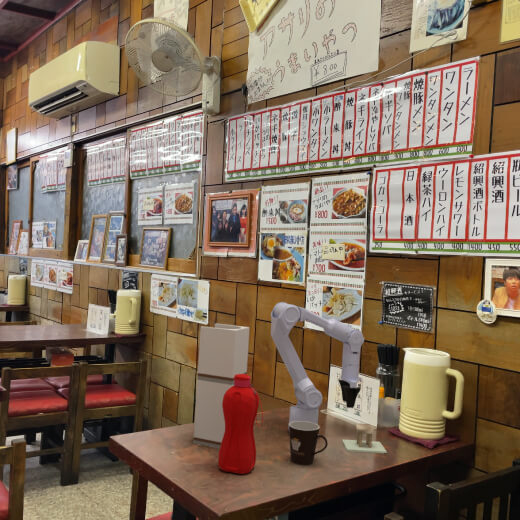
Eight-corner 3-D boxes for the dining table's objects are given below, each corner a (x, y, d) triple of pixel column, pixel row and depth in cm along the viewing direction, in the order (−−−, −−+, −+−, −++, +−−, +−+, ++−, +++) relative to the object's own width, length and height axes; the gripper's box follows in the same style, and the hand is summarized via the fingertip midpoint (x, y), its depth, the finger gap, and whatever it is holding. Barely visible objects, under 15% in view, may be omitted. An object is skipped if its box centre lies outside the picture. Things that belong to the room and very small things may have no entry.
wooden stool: (357, 447, 165) (358, 428, 165) (353, 442, 170) (354, 423, 171) (374, 448, 166) (375, 429, 166) (370, 443, 171) (371, 424, 171)
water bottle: (254, 478, 139) (260, 380, 139) (214, 471, 141) (220, 375, 142) (264, 466, 147) (269, 374, 148) (226, 459, 150) (231, 369, 150)
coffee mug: (281, 456, 155) (283, 421, 155) (308, 454, 159) (310, 420, 159) (300, 472, 145) (302, 434, 145) (328, 469, 148) (330, 432, 148)
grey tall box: (242, 440, 167) (249, 327, 167) (227, 450, 157) (235, 330, 157) (209, 434, 171) (216, 323, 171) (193, 443, 161) (200, 326, 162)
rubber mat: (347, 451, 163) (347, 449, 163) (342, 441, 172) (342, 439, 172) (386, 453, 164) (386, 451, 164) (379, 443, 173) (379, 441, 173)
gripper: (367, 369, 175) (364, 411, 175) (358, 360, 189) (355, 399, 189) (345, 367, 175) (342, 409, 175) (338, 359, 189) (335, 398, 189)
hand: (348, 404), depth 182 cm, fingers open, 7 cm apart
